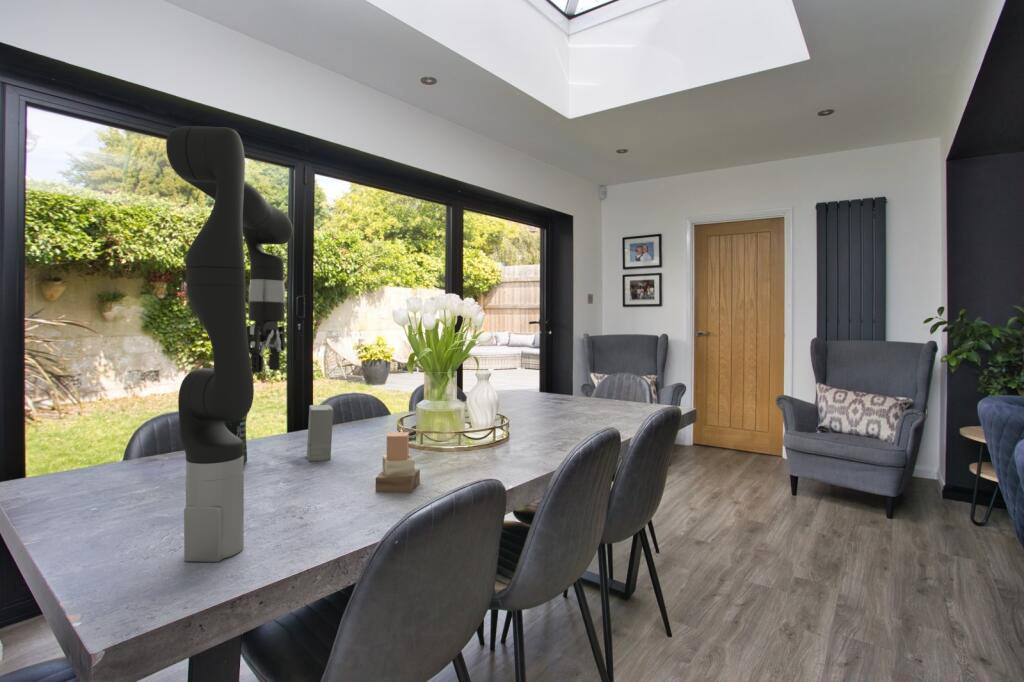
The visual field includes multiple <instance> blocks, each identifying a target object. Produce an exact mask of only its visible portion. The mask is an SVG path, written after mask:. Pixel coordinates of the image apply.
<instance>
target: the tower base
mask: <svg viewBox="0 0 1024 682" xmlns="http://www.w3.org/2000/svg"><path fill="white" fill-rule="evenodd" d="M420 470H421V469H420V468H415V476H404V477H392V478H386V477H385V475H384V473H383V471H381V472H380V473H379V474H378V475H376V477H375V493H394V494H412V493H413V492H414V490H416V488H417V487H418V485H419V484H420V482H421V480H420V479H421V477H420V476H421V474H420V472H421V471H420Z"/></svg>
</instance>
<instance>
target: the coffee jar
mask: <svg viewBox="0 0 1024 682" xmlns="http://www.w3.org/2000/svg"><path fill="white" fill-rule="evenodd" d="M247 418H248V414H247V415H246V416H245V417H244V418H243V419H241V420H238V421H231V422H230V421H224V424H225V426H226V428H227V429H228V430H229V431H230V432H231V433H232V434H234V435H235V436H237V437H239V438H240V439H241V440H242V441H243V445H244V465H245V464H247V462H248V448H247V427H246V426H247Z"/></svg>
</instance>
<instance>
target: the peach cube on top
mask: <svg viewBox="0 0 1024 682" xmlns="http://www.w3.org/2000/svg"><path fill="white" fill-rule="evenodd" d="M409 446H410V432H408V431H406V432H405V431H401V432H400V431H398V432H397V431H396V432H393V431H389V432H388V433H387V435H386V455H387V460H407V458H408V456H409V454H410V450H409Z"/></svg>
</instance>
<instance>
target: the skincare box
mask: <svg viewBox="0 0 1024 682" xmlns="http://www.w3.org/2000/svg"><path fill="white" fill-rule="evenodd" d="M308 410H309V411H308V412H309V413H308V425H307V426H308V427H307V428H308V429H307V442H306V457H307V460H308V461H309V462H315V461H316V462H318V461H330V460H332V458H331V456H332V455H331V454H332V443H333V442H332V440H333V422H334V409H333V407H332V406H331V405H330V404H311V405H309V407H308Z"/></svg>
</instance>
